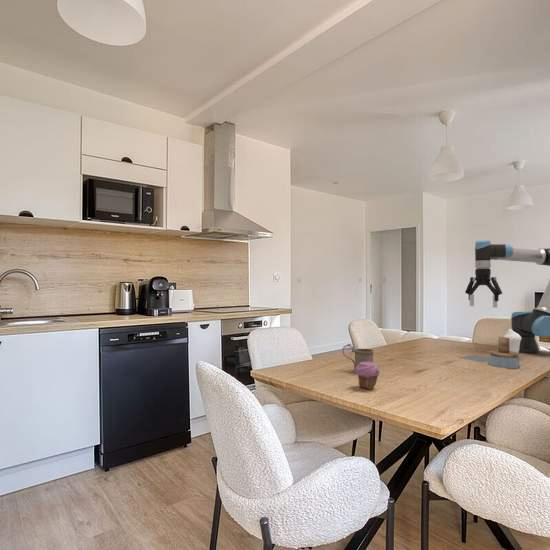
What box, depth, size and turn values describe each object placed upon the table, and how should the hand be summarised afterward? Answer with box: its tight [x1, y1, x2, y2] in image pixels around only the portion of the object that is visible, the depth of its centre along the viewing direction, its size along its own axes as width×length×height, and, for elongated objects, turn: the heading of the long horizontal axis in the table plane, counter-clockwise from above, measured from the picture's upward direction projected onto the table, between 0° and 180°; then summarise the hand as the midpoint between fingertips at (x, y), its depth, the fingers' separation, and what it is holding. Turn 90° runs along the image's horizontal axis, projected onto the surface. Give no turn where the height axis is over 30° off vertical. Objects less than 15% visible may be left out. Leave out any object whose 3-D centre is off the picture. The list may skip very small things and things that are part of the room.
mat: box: [458, 354, 489, 363], centre depth 203 cm, size 14×14×1 cm
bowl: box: [488, 353, 520, 370], centre depth 187 cm, size 12×12×5 cm
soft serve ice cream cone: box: [502, 328, 521, 353], centre depth 204 cm, size 8×8×16 cm
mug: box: [342, 343, 375, 374], centre depth 175 cm, size 14×10×12 cm
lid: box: [489, 336, 520, 358], centre depth 187 cm, size 12×12×8 cm
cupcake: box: [355, 362, 380, 391], centre depth 148 cm, size 9×9×10 cm
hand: (483, 306), depth 215 cm, fingers open, 13 cm apart
